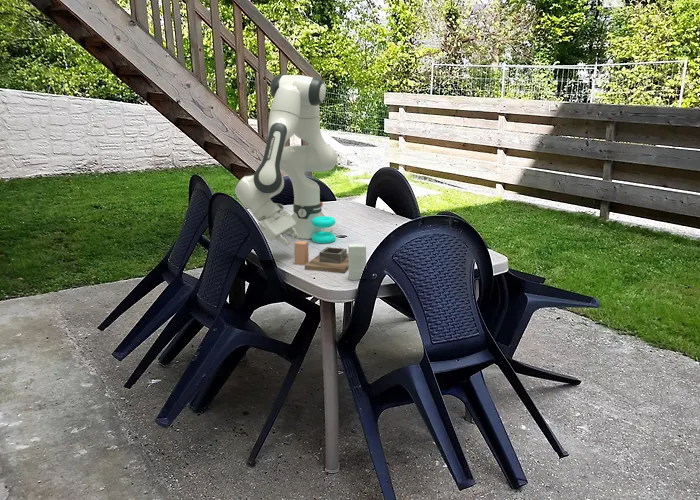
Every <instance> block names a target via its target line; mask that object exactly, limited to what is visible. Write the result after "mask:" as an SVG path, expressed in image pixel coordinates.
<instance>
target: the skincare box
mask: <svg viewBox="0 0 700 500" xmlns="http://www.w3.org/2000/svg"><path fill="white" fill-rule="evenodd" d="M347 248H348V249H347V251H348V257H349V269H348V280H349V281H359V279H360V277H361V274H362V272H363V269H364V267H365V265H366V266H367V246H366V243H348V245H347Z"/></svg>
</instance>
